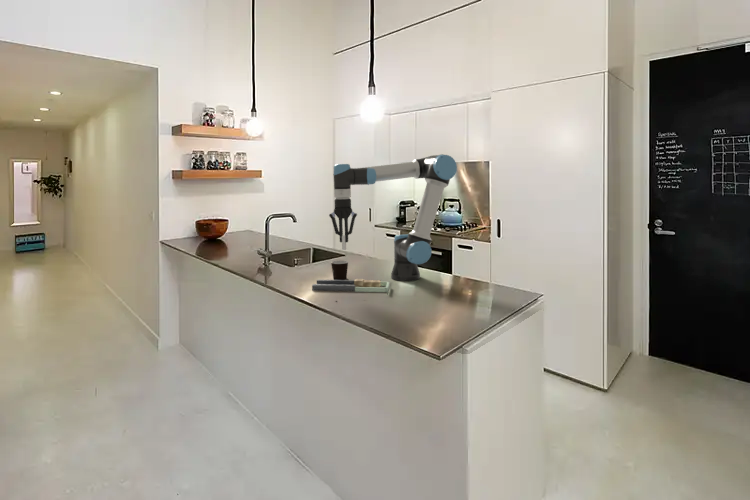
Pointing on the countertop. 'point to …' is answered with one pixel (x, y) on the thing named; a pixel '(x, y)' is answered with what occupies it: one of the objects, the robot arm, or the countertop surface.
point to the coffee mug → (339, 269)
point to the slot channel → (334, 285)
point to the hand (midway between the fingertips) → (344, 249)
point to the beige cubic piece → (376, 283)
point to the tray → (374, 288)
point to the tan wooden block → (367, 283)
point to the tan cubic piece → (358, 282)
